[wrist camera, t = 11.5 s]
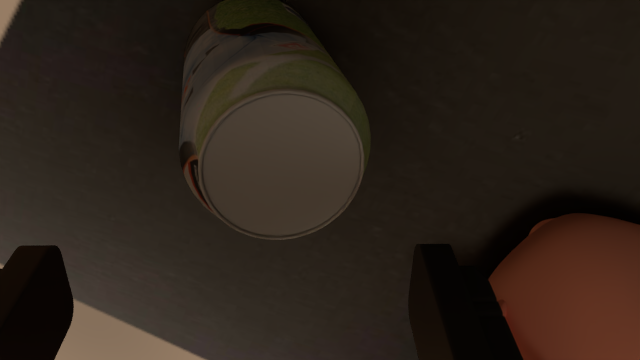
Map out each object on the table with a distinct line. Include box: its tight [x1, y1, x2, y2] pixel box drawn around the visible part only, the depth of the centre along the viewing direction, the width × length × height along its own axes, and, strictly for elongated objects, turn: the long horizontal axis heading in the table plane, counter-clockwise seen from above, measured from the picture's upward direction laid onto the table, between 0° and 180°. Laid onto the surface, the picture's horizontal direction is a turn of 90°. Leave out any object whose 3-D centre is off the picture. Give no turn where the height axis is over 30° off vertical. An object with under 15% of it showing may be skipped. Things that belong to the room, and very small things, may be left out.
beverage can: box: [179, 0, 371, 240], centre depth 22 cm, size 6×7×12 cm
